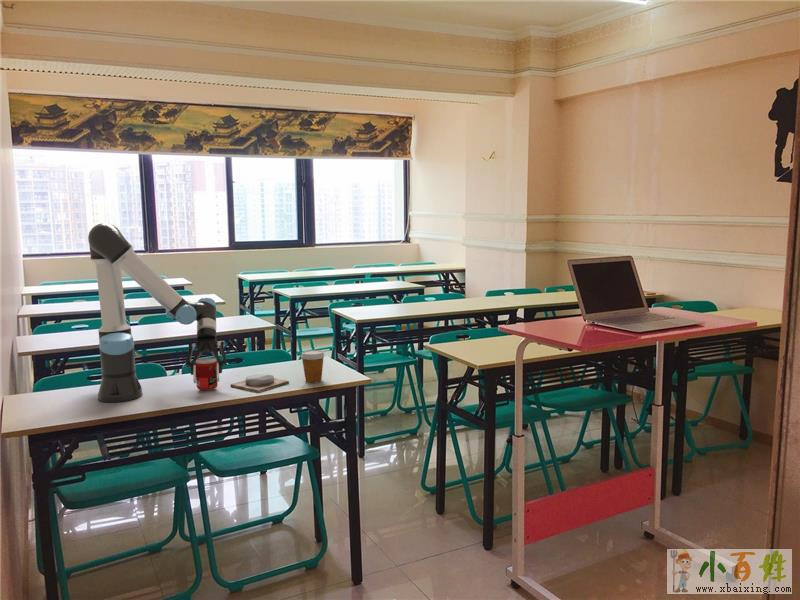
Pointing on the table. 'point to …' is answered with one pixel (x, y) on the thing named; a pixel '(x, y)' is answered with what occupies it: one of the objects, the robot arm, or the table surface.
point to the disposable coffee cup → (313, 365)
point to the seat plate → (259, 388)
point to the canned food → (206, 373)
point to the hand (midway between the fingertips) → (206, 380)
